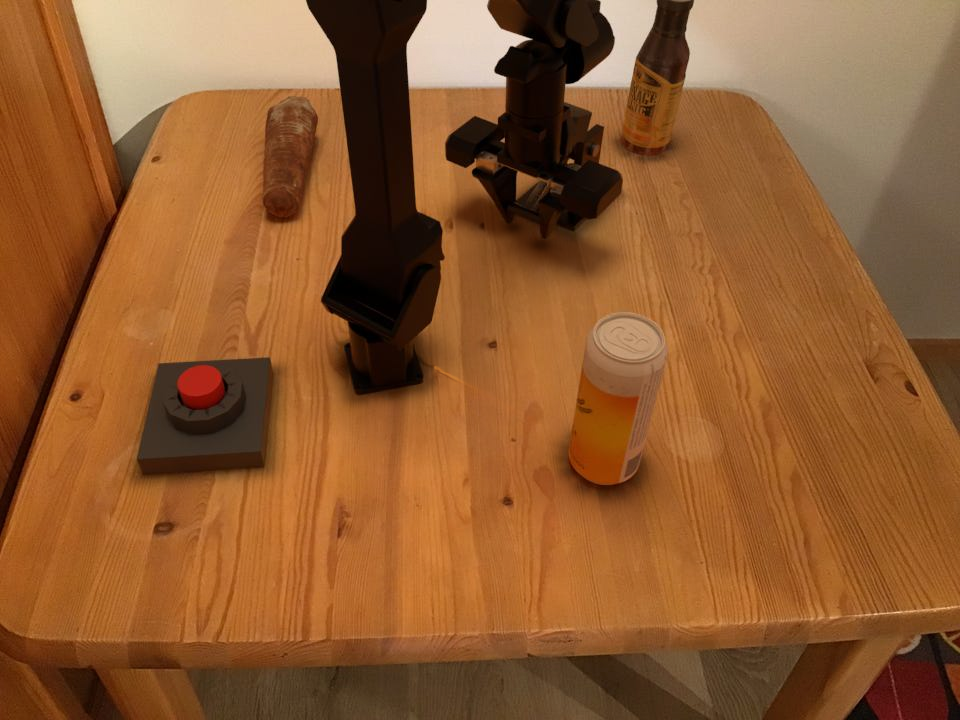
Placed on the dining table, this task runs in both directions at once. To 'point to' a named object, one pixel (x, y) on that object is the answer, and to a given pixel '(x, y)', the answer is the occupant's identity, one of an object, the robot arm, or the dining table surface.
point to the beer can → (616, 396)
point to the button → (201, 387)
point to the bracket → (582, 155)
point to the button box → (208, 420)
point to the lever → (536, 196)
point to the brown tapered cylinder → (287, 154)
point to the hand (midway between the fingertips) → (528, 229)
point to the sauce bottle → (658, 80)
